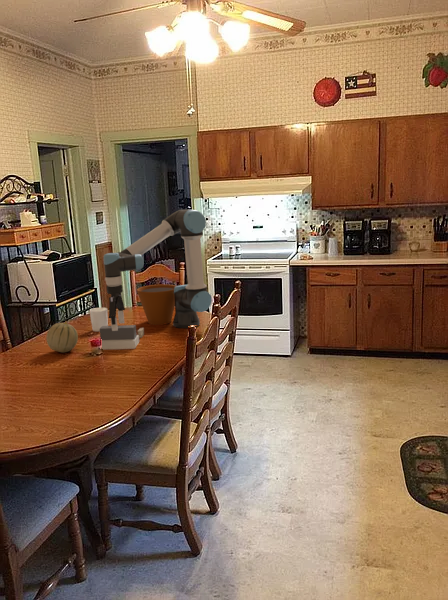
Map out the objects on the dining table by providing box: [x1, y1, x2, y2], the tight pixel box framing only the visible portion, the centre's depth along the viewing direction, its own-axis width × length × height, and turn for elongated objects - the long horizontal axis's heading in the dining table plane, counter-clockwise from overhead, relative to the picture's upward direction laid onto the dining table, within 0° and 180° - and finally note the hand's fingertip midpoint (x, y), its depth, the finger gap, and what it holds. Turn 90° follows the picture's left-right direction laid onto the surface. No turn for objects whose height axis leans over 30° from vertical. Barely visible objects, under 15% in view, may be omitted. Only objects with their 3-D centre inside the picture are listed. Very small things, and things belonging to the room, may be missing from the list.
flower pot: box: [136, 283, 177, 326], centre depth 310 cm, size 24×24×20 cm
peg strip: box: [99, 324, 138, 340], centre depth 265 cm, size 17×5×10 cm, turn 87°
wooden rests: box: [137, 327, 145, 339], centre depth 281 cm, size 17×6×4 cm, turn 87°
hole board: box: [102, 334, 140, 350], centre depth 266 cm, size 18×10×4 cm, turn 87°
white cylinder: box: [89, 307, 109, 332], centre depth 297 cm, size 10×10×12 cm
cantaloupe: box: [46, 320, 79, 353], centre depth 259 cm, size 15×15×15 cm
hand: (118, 326), depth 264 cm, fingers open, 13 cm apart
